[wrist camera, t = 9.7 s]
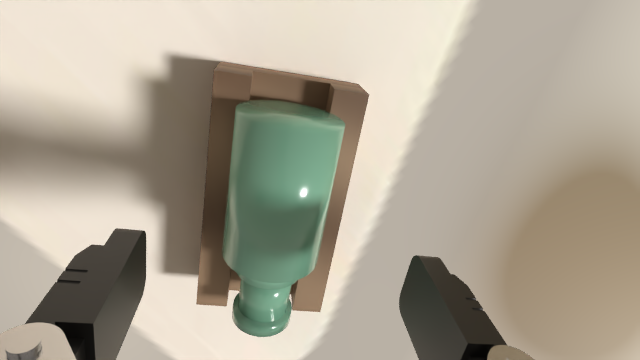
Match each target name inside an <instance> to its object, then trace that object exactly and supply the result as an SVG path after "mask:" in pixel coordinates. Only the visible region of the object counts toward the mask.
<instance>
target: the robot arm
mask: <svg viewBox="0 0 640 360" xmlns="http://www.w3.org/2000/svg"><path fill="white" fill-rule="evenodd" d="M145 280H146V233H145V231H140V230H129V229H118V228H117V229H115V230H114V231H113V233H112V234H111V236H110V237H109V239H108V240H107V242H106V244H105V245H104V246H102V245H91V246H89V247H88V248H86V249H84V250H83V251H81V252H80V253H78V254H77V255H75V256H74V258H73V259H72V261H71V262H70V263H69V265H68V266H67V267H66V270H65V271H63V273H62V274H61V276H60V277H59V278H58V281H57V283H55V284H54V285H53V287H52V288H51V289H50V291H49V292H48V293H47V295H46V296H45V297H44V299H43V300H42V301H41V303H40V304H39V305H38V307H37V308H36V310H35V311H34V312H33V314H32V315H31V316H30V318H29V319H28V320H27V322H26V323H25V324H24V325H20V326H16V327H14V328H11V329H9V330H7V331H5V332H3V333H1V334H0V360H116V358H117V355H118V353H119V350H120V348H121V346H122V343H123V341H124V338H125V336H126V334H127V331H128V329H129V327H130V324H131V322H132V319H133V317H134V315H135V312H136V310H137V307H138V305H139V303H140V300H141V298H142V295H143V291H144V287H145ZM399 305H400V306H399V307H400V313H401V316H402V318H403V321H404V323H405V326H406V328H407V331H408V333H409V336H410V338H411V341H412V343H413V346H414V348H415V350H416V353H417V355H418V358H419V360H534V359H533V358H532V357H531V356H529V355H528V354H526V353H525V352H523V351H521V350H519V349H517V348H514V347H511V346H507V344H506V343H505V341H504V340H503V338H502V337H501V335H500V334H499V332H498V331H497V329H496V328H495V326H494V325H493V323H492V322H491V320H490V319H489V317H488V316H487V314H486V313H485V312H484V311H483V308H482V307H481V305H480V304H479V302H478V301H476V298H475V296H474V295H473V293H472V292H471V291H470V289H469V287H468V286H467V285H466V284H464V282H462V281H461V280H460V279H459V278H457V276H455V275H453V274H450V273H449V271H448V270H447V268H446V267H445V265H444V263H443V262H442V261H441V259H440V258H438V257H427V256H414V257H413V258H412V260H411V263H410V266H409V269H408V272H407V275H406V278H405V282H404V284H403V287H402V290H401V294H400V300H399Z"/></svg>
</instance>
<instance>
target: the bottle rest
mask: <svg viewBox="0 0 640 360" xmlns="http://www.w3.org/2000/svg"><path fill="white" fill-rule="evenodd" d="M368 97H369V94H368V93H367V92H366V91H365V90H364V89H363V88H362V87H361V86H360V85H359V84H354V83H348V82H342V81H336V80H330V79H324V78H318V77H312V76H306V75H299V74H293V73H287V72H281V71H275V70H269V69H263V68H257V67H250V66H244V65H238V64H232V63H226V62H220V63H219V64H218V65H217V67H216V68H215V69H214V76H213V89H212V103H211V116H210V129H209V143H208V156H207V170H206V183H205V197H204V210H203V223H202V237H201V250H200V264H199V277H198V290H197V304H199V305H215V306H227V299H228V292H229V290H238V291H240V283H241V278H240V277H239V276H238V275H237V273H236V272H235V271H234V270H233V269H231V268H230V267H229V266H228V265H227V263H226V262H225V260H224V258H223V255H222V247H223V236H224V226H225V215H226V204H227V194H228V183H229V173H230V162H231V152H232V141H233V130H234V120H235V109H236V106H237V105H238V104H240V103H242V102H246V101H252V100H275V101H284V102H292V103H297V104H302V105H307V106H311V107H314V108H318V109H321V110H324V111H327V112H329V113H331V114H334V115H336V116H337V117H339V118H340V119H342V120H343V121H344V123H345V129H344V134H343V139H342V144H341V149H340V154H339V159H338V163H337V168H336V173H335V178H334V183H333V188H332V193H331V197H330V202H329V207H328V212H327V217H326V222H325V226H324V231H323V236H322V241H321V246H320V251H319V256H318V260H317V264H316V267H315V268H314V270H313V271H312V272H311V273H310V274H308V275H307V276H305V277H304V278H301V279H299V280H297V281H296V282H295V283H294V284H292V285H291V289H290V294H291V297H292V310H297V311H313V312H320V310H321V306H322V302H323V297H324V293H325V288H326V284H327V279H328V275H329V270H330V266H331V262H332V257H333V253H334V248H335V244H336V239H337V235H338V230H339V226H340V222H341V217H342V213H343V208H344V204H345V199H346V195H347V190H348V186H349V182H350V177H351V173H352V168H353V164H354V159H355V155H356V151H357V146H358V142H359V137H360V133H361V128H362V124H363V119H364V115H365V111H366V106H367V102H368Z"/></svg>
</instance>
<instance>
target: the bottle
mask: <svg viewBox="0 0 640 360" xmlns="http://www.w3.org/2000/svg"><path fill="white" fill-rule="evenodd" d="M344 129H345V123H344V121H343V120H342V119H340V118H339V117H337V116H336V115H334V114H331V113H329V112H327V111H324V110H321V109H318V108H314V107H311V106H307V105H302V104H297V103H292V102H284V101H275V100H252V101H246V102H242V103H240V104H238V105H237V106H236V109H235V120H234V130H233V141H232V152H231V162H230V173H229V183H228V194H227V204H226V215H225V226H224V236H223V247H222V255H223V258H224V260H225V262H226V263H227V265H228V266H229V267H230V268H231V269H233V270H234V271H235V272H236V273H237V275H238V276H239V277H240V278H241V283H240V291H239V293H238V294H237V296H236V297H235V299H234V303H233V311H232V318H233V321H234V323H235V325H236V326H237V327H238V328H239V329H240V330H241V331H243V332H245V333H247V334H249V335H253V336H258V337H267V336H272V335H275V334H278V333H280V332H281V331H283V330H284V329H285V328H286V327H287V325H288V323H289V320H290V314H291V309H292V306H291V302H290V300H289V295H290V289H291V285H292V284H294V283H295V282H296V281H297V280H299V279H301V278H304V277H305V276H307V275H308V274H310V273H311V272H312V271H313V270H314V268H315V267H316V264H317V260H318V256H319V251H320V246H321V241H322V236H323V231H324V226H325V222H326V217H327V212H328V207H329V202H330V197H331V193H332V188H333V183H334V178H335V173H336V168H337V163H338V159H339V154H340V149H341V144H342V139H343V134H344Z"/></svg>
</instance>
